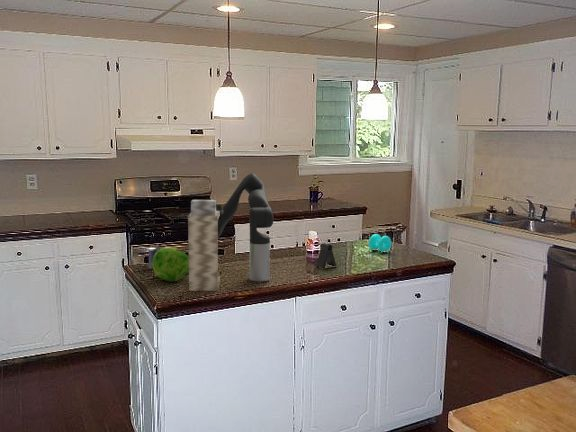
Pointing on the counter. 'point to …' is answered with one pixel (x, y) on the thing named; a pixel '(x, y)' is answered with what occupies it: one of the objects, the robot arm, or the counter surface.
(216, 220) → the beige patterned upright block
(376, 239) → the turquoise double oval
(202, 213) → the grey patterned block
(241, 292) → the counter surface
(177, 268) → the lettuce
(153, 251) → the flask
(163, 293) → the counter surface
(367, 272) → the counter surface
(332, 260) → the door stopper
